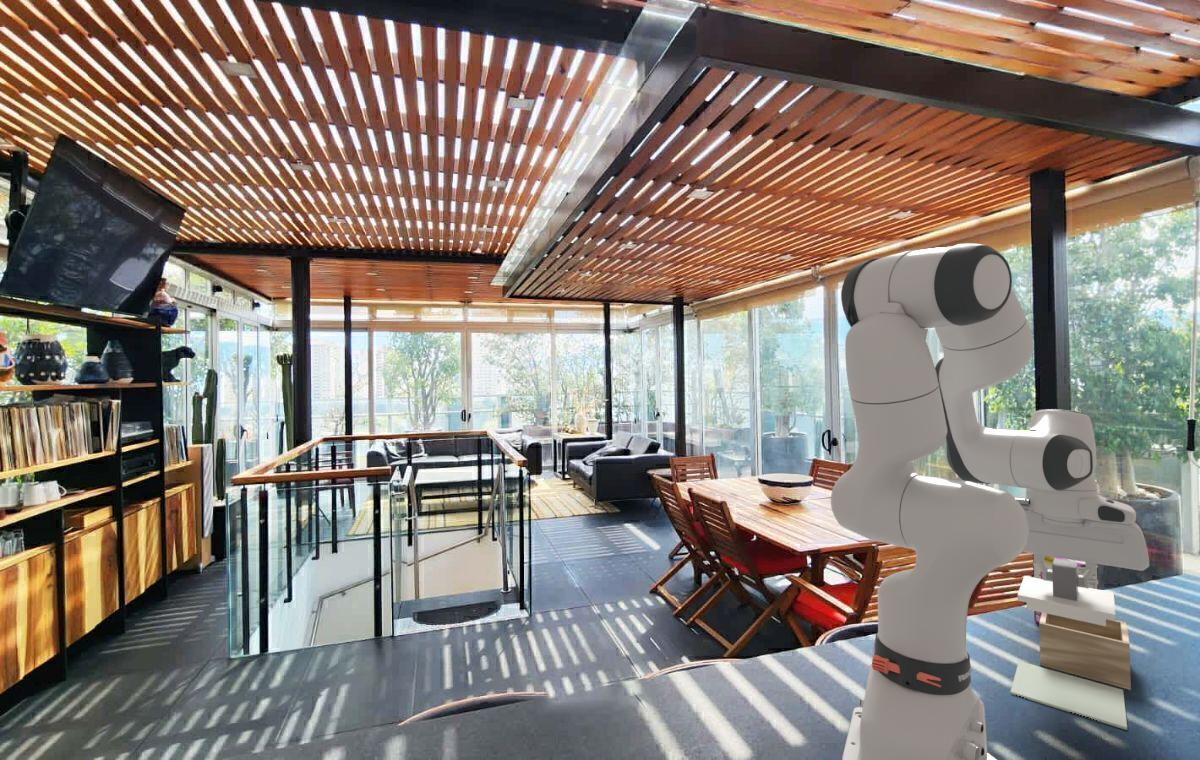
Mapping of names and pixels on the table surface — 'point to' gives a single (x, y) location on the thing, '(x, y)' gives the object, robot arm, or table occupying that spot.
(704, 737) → the table surface
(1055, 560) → the lid
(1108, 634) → the box
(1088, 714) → the mat
